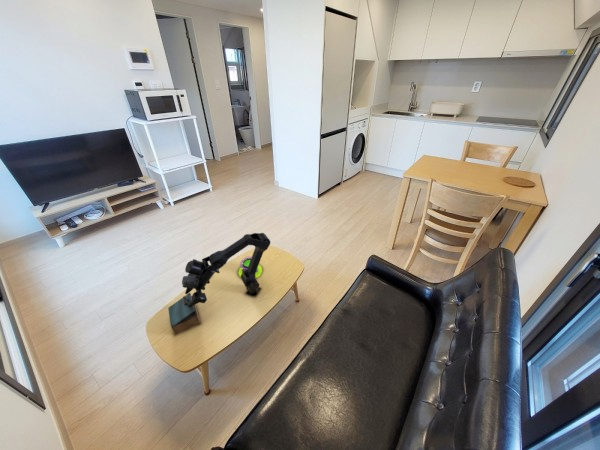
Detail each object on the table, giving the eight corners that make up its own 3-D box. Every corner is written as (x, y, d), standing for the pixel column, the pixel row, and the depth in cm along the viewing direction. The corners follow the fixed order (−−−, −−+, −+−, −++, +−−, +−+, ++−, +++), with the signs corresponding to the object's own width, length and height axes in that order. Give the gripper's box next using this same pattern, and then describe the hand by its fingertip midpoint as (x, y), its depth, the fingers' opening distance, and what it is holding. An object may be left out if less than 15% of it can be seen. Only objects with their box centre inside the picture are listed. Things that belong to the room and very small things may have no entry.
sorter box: (195, 306, 131) (193, 299, 128) (200, 323, 122) (197, 316, 119) (172, 315, 126) (168, 308, 123) (175, 334, 117) (171, 327, 114)
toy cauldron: (253, 259, 162) (251, 247, 156) (266, 271, 153) (265, 258, 147) (234, 270, 154) (231, 258, 148) (246, 283, 145) (244, 270, 139)
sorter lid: (190, 293, 125) (185, 289, 122) (195, 310, 116) (189, 306, 113) (169, 308, 123) (163, 304, 120) (171, 327, 114) (165, 323, 111)
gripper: (186, 260, 118) (169, 284, 120) (193, 285, 105) (173, 312, 106) (206, 266, 126) (190, 288, 127) (215, 290, 112) (196, 315, 114)
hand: (187, 300), depth 119 cm, fingers open, 9 cm apart
